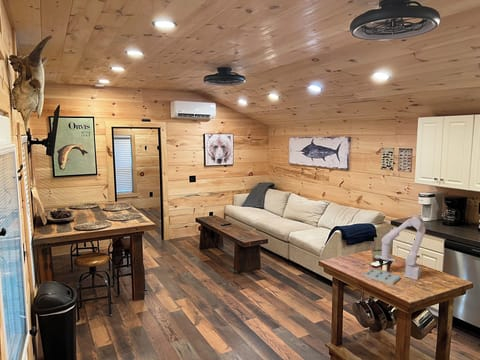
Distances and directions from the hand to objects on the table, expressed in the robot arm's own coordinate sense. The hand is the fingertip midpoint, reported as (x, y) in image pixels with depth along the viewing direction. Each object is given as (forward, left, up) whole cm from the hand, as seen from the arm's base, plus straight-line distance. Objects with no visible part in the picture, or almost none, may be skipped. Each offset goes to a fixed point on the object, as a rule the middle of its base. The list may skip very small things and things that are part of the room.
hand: (385, 269), depth 262 cm
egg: (0, 0, -1) cm, 1 cm away
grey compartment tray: (-3, +13, -1) cm, 13 cm away
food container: (+13, -19, -2) cm, 23 cm away
